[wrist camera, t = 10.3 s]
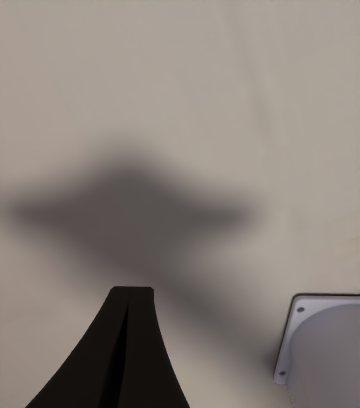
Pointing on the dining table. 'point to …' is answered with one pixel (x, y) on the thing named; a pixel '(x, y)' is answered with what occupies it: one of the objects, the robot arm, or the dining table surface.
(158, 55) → the dining table surface
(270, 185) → the dining table surface
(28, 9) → the dining table surface
